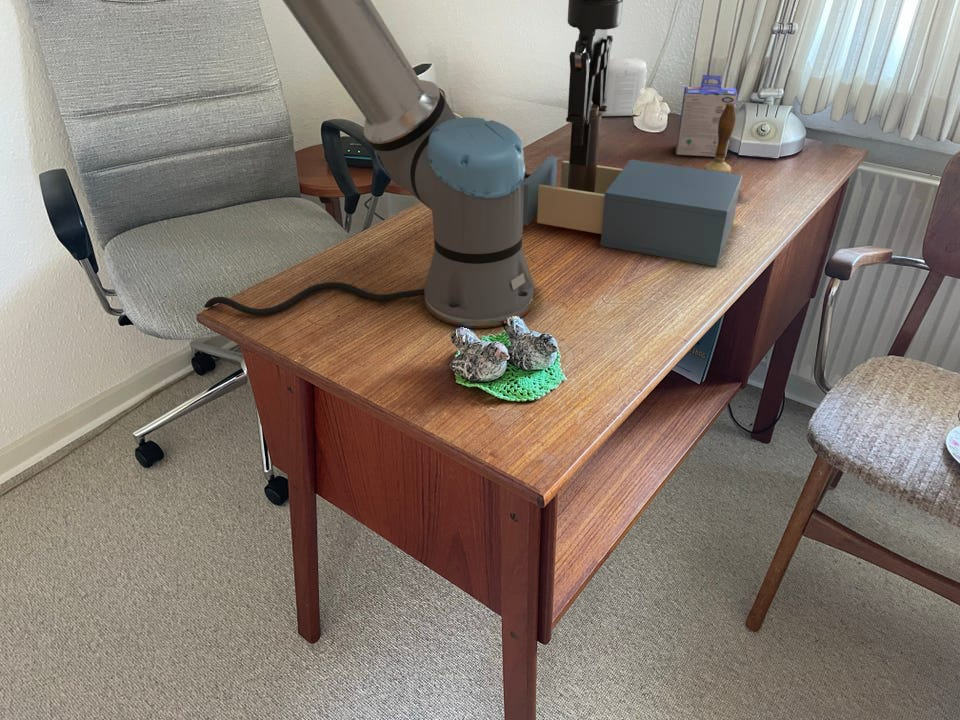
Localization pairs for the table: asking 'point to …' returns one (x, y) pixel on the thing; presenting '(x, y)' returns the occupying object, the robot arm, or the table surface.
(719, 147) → the hand bell
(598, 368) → the table surface
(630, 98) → the white tall block
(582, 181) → the pepper mill
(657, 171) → the cabinet
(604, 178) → the drawer
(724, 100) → the ink cartridge box
